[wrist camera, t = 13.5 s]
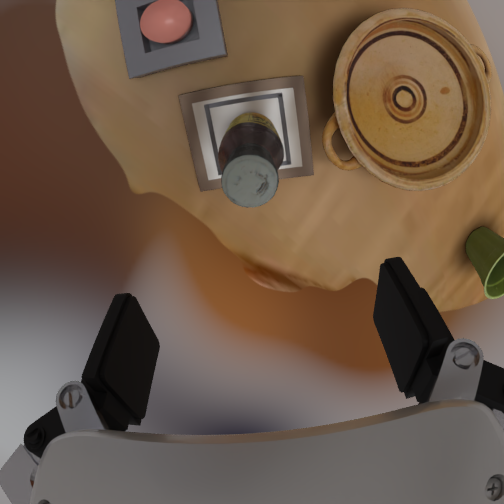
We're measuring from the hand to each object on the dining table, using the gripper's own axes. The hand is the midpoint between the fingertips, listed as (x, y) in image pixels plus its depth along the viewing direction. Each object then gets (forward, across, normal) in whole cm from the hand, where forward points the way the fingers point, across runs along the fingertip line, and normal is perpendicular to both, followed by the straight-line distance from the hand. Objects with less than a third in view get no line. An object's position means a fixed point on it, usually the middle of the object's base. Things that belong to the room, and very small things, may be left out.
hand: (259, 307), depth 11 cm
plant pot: (+33, -43, +24) cm, 59 cm away
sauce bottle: (+32, 0, 0) cm, 32 cm away
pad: (+33, 0, 0) cm, 33 cm away
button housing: (+33, +7, -17) cm, 38 cm away
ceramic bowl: (+33, -22, -4) cm, 40 cm away
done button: (+31, +7, -17) cm, 36 cm away
